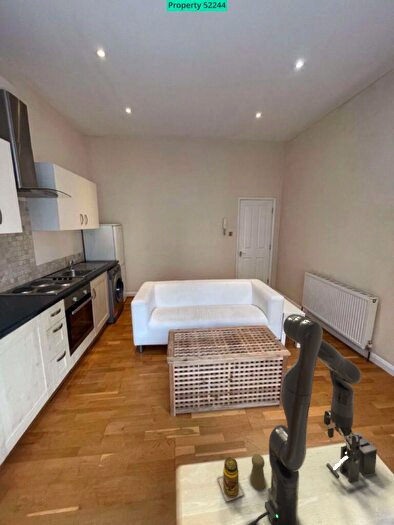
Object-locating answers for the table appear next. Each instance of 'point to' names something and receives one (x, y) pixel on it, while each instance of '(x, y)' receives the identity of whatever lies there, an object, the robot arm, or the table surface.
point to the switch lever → (337, 466)
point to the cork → (257, 472)
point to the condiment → (230, 480)
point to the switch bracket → (350, 466)
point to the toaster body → (366, 456)
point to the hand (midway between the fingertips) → (339, 446)
